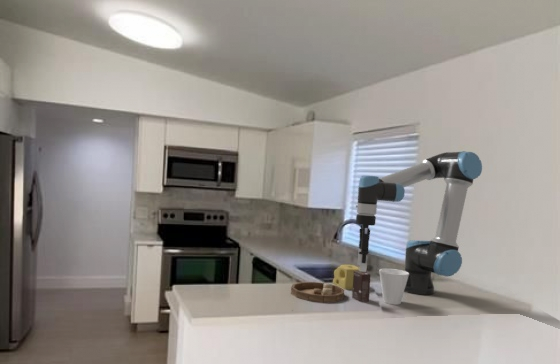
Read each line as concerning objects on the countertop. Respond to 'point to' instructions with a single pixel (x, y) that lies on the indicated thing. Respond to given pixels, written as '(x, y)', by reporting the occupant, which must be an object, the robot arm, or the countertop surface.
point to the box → (361, 286)
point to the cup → (393, 285)
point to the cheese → (344, 276)
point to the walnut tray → (309, 292)
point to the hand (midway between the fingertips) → (361, 268)
